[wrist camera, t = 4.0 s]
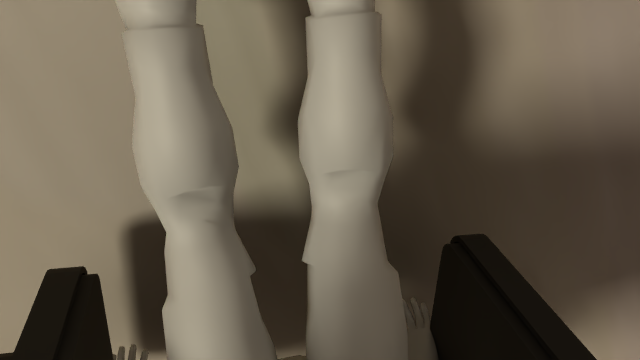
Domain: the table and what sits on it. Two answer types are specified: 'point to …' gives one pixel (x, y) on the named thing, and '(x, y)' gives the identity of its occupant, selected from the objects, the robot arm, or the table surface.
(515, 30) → the table surface
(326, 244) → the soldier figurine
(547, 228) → the table surface
